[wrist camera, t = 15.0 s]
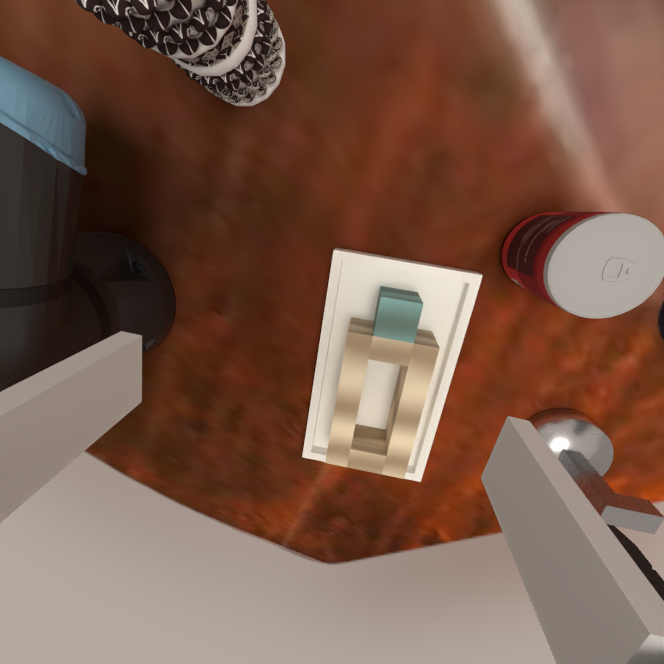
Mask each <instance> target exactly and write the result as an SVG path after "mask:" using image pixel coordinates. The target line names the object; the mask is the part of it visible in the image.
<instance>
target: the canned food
mask: <svg viewBox="0 0 664 664" xmlns="http://www.w3.org/2000/svg"><path fill="white" fill-rule="evenodd" d="M502 264H503V267H504V270H505V272H506V274H507V275H508V277H509V278H510V279H511V280H512V281H513V282H514V283H516V284H517V285H519V286H520V287H522V288H524V289H526V290H528V291H529V292H531V293H533V294H535V295H537V296H538V297H540V298H542V299H544V300H546V301H547V302H549V303H551V304H553V305H555V306H556V307H558V308H561V309H563V310H564V311H567V312H569V313H572V314H574V315H578V316H581V317H586V318H607V317H613V316H616V315H619V314H623V313H625V312H627V311H629V310H631V309H633V308H635V307H637V306H638V305H639V304H641V303H642V302H644V301H645V300H646V299H647V298H648V297H649V296H650V295H651V294H652V293H653V292H654V291H655V290H656V288H657V287H658V286H659V284H660V283H661V281H662V279H663V277H664V236H663V234H662V233H661V232H660V230H659V229H658V228H657V227H656V226H655V225H654V224H652V223H651V222H649V221H648V220H646V219H644V218H641V217H639V216H636V215H631V214H626V213H620V212H544V213H539V214H536V215H534V216H531V217H529V218H527V219H525V220H524V221H522V222H521V223H520V224H518V225H517V226H516V227H515V228H514V229H513V230H512V231H511V233H510V234H509V235H508V237H507V239H506V240H505V243H504V246H503V249H502Z"/></svg>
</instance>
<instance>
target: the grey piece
mask: <svg viewBox="0 0 664 664" xmlns="http://www.w3.org/2000/svg"><path fill="white" fill-rule="evenodd" d="M527 421H530V422H531V424H532V425H533V426H534V428H535V429H536V430H537V432H538V433H539V434H540V436H541V437H542V438H543V440H544V441H545V442H546V444H547V445H548V446H549V448H550V449H551V451H552V452H553V453H554V455H555V456H556V457H557V459H558V460H559V461H560V463H561V464H562V465H563V467H564V468H565V469H566V471H567V472H568V473H569V475H570V476H571V477H572V479H573V480H574V481H575V483H576V484H577V485H578V487H579V488H580V489H581V491H582V492H583V494H584V495H585V496H586V498H587V499H588V500H589V502H590V503H591V504H592V506H593V507H594V508H595V510H596V511H597V512H598V514H599V515H600V516H601V518H602V519H603V520H604V522H605V523H606V524H609V525H613V526H618V527H623V528H627V529H632V530H637V531H642V532H647V533H652V534H655V532H656V531H657V529H658V528H659V526H660V524H661V522H662V521H663V520H664V516H663V515H662V514H661V513H660V512H659V511H658V510H657V509H656V508H655V507H654V506H653V504H652V503H651V502H650V501H649V500H645V499H640V498H635V497H631V496H626V495H621V494H616V493H615V492H614V491H613V490H612V489H611V488H610V486H609V485H608V484H607V483H606V482H605V480H604V479H603V478H602V476H603V475H604V474H605V473H606V471H607V470H608V469H609V467H610V465H611V463H612V459H613V447H612V444H611V442H610V440H609V438H608V437H607V436H606V435H605V434H604V433H603V432H602V431H601V430H600V429H599V428H598V427H597V426H596V425H595V424H594V423H593V422H592V421H591V420H590V419H589V418H588V417H587V416H585V415H584V414H582V413H580V412H578V411H575V410H572V409H566V408H556V409H549V410H545V411H542V412H540V413H538V414H536V415H534V416H532V417H531V418H529V419H528V420H527Z"/></svg>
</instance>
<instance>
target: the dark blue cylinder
mask: <svg viewBox="0 0 664 664" xmlns="http://www.w3.org/2000/svg"><path fill="white" fill-rule="evenodd" d="M658 327H659V332H660V334H661V336H662V338H663V340H664V302H663V304H662V306H661V309H660V312H659V317H658Z"/></svg>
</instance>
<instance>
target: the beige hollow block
mask: <svg viewBox="0 0 664 664" xmlns="http://www.w3.org/2000/svg"><path fill="white" fill-rule="evenodd" d="M422 308H423V302H422V300H421V298H420V296H419V294H418V292H414V291H408V290H402V289H396V288H390V287H384V286H380V291H379V296H378V301H377V306H376V311H375V316H374V321H371V320H365V319H360V318H354V317H351V320H350V325H349V329H348V333H347V339H346V345H345V351H344V357H343V362H342V368H341V374H340V380H339V386H338V391H337V397H336V403H335V409H334V415H333V420H332V426H331V432H330V438H329V444H328V449H327V455H326V461H325V463H329V464H334V465H339V466H344V467H349V468H354V469H359V470H363V471H368V472H373V473H378V474H383V475H388V476H393V477H398V478H403V479H404V478H405V474H406V470H407V467H408V463H409V459H410V456H411V452H412V448H413V445H414V441H415V437H416V434H417V430H418V426H419V423H420V419H421V415H422V411H423V408H424V404H425V400H426V397H427V393H428V389H429V386H430V382H431V378H432V375H433V371H434V367H435V364H436V360H437V356H438V353H439V349H440V347H439V345H438V343H437V341H436V339H435V336H434V334H433V332H432V331H428V330H422V329H418V325H419V320H420V316H421V312H422ZM368 359H370V360H375V361H381V362H386V363H392V364H397V365H401V366H400V370H399V374H398V378H397V383H396V387H395V391H394V395H393V400H392V404H391V408H390V412H389V417H388V421H387V425H386V429H385V430H384V429H379V428H374V427H369V426H364V425H359V424H356V419H357V414H358V409H359V404H360V399H361V394H362V389H363V384H364V379H365V374H366V369H367V364H368Z"/></svg>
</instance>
